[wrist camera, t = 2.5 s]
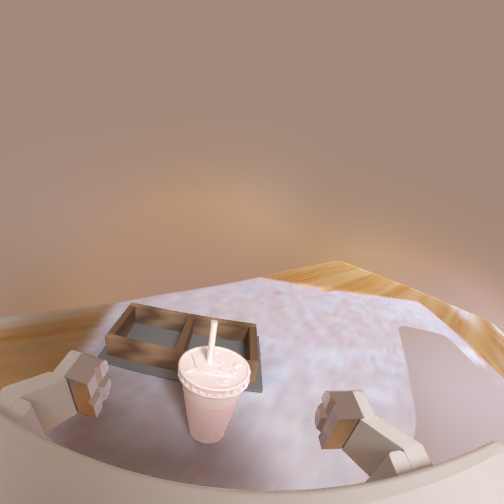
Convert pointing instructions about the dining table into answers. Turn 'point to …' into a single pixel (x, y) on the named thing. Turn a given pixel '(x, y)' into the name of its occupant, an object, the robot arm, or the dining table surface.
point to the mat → (171, 340)
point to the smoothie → (211, 387)
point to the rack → (188, 326)
